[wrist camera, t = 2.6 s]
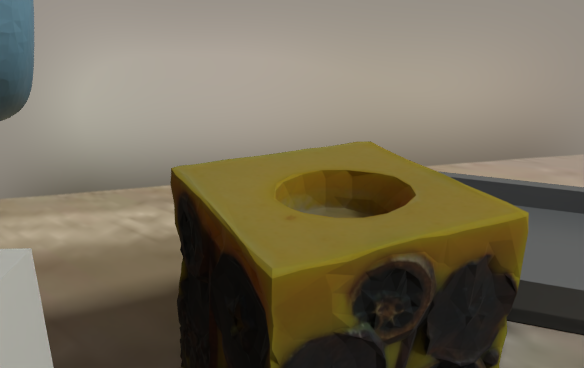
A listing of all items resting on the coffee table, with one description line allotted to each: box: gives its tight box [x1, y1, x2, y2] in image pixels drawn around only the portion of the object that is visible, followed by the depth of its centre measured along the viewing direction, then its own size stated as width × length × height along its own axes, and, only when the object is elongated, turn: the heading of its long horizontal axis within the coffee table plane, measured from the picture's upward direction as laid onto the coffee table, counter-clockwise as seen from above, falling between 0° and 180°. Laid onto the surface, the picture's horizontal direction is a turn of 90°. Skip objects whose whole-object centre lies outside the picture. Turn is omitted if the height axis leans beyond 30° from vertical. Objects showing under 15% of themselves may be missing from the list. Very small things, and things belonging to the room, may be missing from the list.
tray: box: [437, 171, 584, 335], centre depth 36 cm, size 20×16×2 cm
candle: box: [171, 142, 529, 368], centre depth 22 cm, size 10×10×10 cm
